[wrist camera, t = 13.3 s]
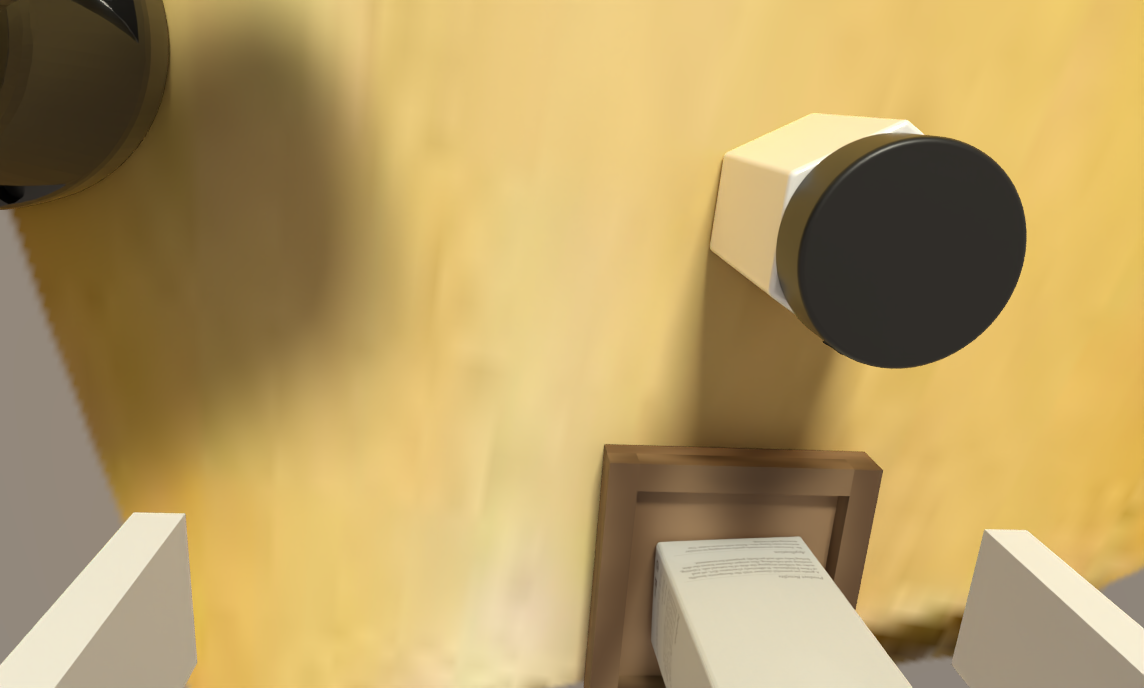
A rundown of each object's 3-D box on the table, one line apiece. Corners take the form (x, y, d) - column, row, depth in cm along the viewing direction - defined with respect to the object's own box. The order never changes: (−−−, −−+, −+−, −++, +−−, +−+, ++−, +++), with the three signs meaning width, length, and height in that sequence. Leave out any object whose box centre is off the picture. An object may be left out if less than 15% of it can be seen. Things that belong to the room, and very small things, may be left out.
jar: (737, 321, 41) (830, 412, 29) (678, 170, 38) (753, 205, 27) (905, 247, 40) (1065, 309, 29) (855, 89, 38) (1009, 88, 26)
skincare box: (647, 637, 45) (719, 911, 30) (654, 531, 43) (734, 767, 28) (796, 633, 45) (939, 898, 30) (809, 528, 43) (969, 756, 28)
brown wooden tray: (583, 685, 46) (587, 713, 44) (604, 444, 42) (609, 462, 40) (820, 685, 48) (834, 712, 46) (864, 451, 43) (882, 470, 41)
